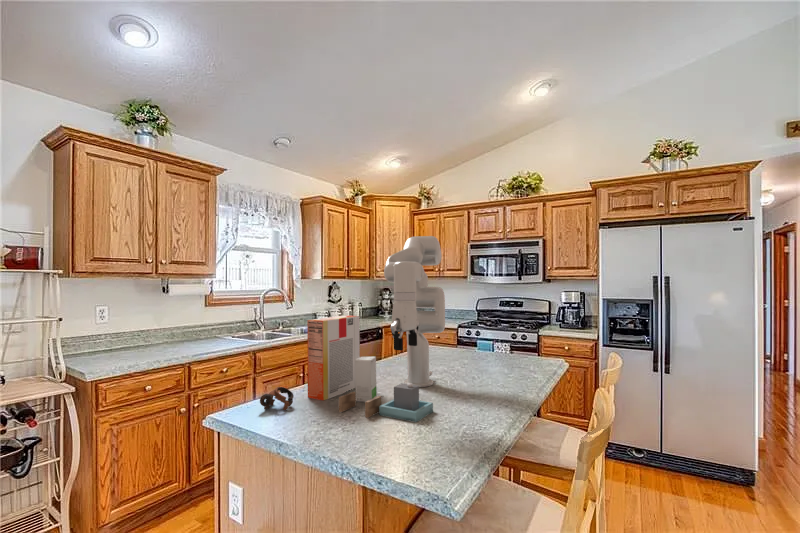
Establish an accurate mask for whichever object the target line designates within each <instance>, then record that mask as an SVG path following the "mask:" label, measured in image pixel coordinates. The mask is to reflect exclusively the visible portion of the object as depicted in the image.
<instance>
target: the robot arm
mask: <svg viewBox="0 0 800 533" xmlns="http://www.w3.org/2000/svg"><path fill="white" fill-rule="evenodd" d="M442 257H443V256H442V250H441V244H440V241H439V240H438V238H437V236H433V235H427V236H426V235H425V236H424V235H423V236H422V235H420V236H419V235H418V236H417V235H416V236H411V237H409V238H407V240H406V241H405V243H404V245H403V249H401V250H399V251H396V252H395V253H393V254H391V255H389V256H388V258H387V260H386V262H385V266H384V269H383V276H384V279H385V280H386V281H387V282H388V283H392V284H393V305H392V314H391V325H390V330H391V335H392V338H393V350H394V351H403V350H404V348H403V347H404V340H403V338H402V337H403V334H404V332H406V354H407V355H406V363H407V364H406V365H407V375H406V376H407V378H406V379H405V380H404V381H403V384H408V383H412V384H413V385H415V386H419V388H426V387H431V386H432V385H433V384H434V381H433V380H432V379H430V376H433V371H432V370H430V344H429V341H428V339H427V337H426V336H425V335H424V334H439V333H443V332H444V331H445V327H446V299H445V297H446V296H445V292H444V289H443V288H442V287H439V286H429V283H428V282H429V279H428V274H427V273H426V271H425V268H424V266H426V267H428V266H438V265H439V264H441V262H442ZM418 309H433V310H418Z"/></svg>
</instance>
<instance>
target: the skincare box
mask: <svg viewBox="0 0 800 533" xmlns="http://www.w3.org/2000/svg"><path fill="white" fill-rule="evenodd" d="M376 357H377V356H360V357H359V358H357V359H356V360H355V377H356V388H355V392H356V402H359V403H361V402H362V403H365V402H366V401H368V400H370V399H373V398H375V397H377V396H378V395H377V394H378V392H377V390H378V389H377V388H378V387H377V358H376Z"/></svg>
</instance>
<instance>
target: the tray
mask: <svg viewBox="0 0 800 533" xmlns="http://www.w3.org/2000/svg"><path fill="white" fill-rule="evenodd" d="M433 412H434V402H430V401H424V400H419V409H417V410H415V411H411V410H406V409H400V408H395V407H394V398H393V399H391V400H389V401H387V402H385V403H382V405H381V406H379V416H380V417H381V416H382V417H388V418H392V419H398V420H402V421H408V422H413V423H417V422H419V421H420V420H422V419H423V418H425V417H427V416H428V415H430V414H432V413H433Z"/></svg>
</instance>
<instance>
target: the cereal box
mask: <svg viewBox="0 0 800 533" xmlns="http://www.w3.org/2000/svg"><path fill="white" fill-rule="evenodd" d="M306 323H307V398H308V399H314V400H319V401H326V400H329V399H332V398H334V397H337V396H339V395H342V394H344V393H347V392H349V391H348V390H350V391H352V390H354V389H353V388H355V389H356V377H355V360H356V359H357V358H359V357H361V354H360V351H361V350H360V348H361V347H360V346H361V345H360V343H361V342H360V341H361V340H360V335H361V334H360V315H346V314H345V315H339V316H337V315H336V316H329V317H328V316H327V317H321V318H314V319H313V318H312V319H307V322H306ZM351 389H352V390H351ZM346 391H347V392H346ZM341 393H342V394H341Z"/></svg>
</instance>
